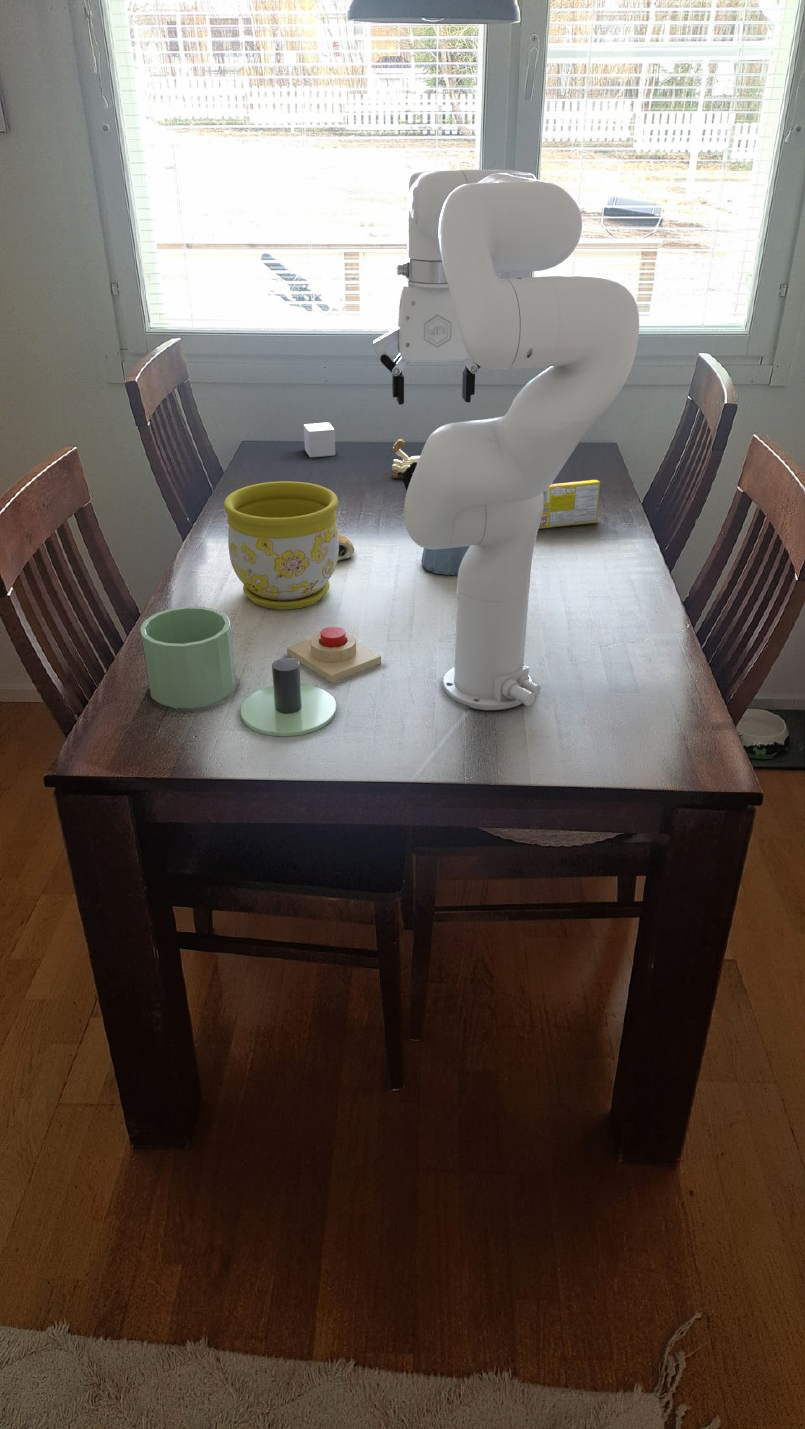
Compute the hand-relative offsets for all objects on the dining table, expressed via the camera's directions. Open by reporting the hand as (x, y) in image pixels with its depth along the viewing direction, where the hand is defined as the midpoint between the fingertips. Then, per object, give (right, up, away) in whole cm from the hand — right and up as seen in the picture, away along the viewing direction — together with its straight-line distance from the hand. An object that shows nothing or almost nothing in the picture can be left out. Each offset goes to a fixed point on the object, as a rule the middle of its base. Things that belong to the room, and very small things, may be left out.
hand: (433, 401), depth 145 cm
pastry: (-17, -16, +37) cm, 44 cm away
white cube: (-24, +16, +89) cm, 94 cm away
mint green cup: (-34, -42, -4) cm, 54 cm away
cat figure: (+6, +7, +75) cm, 75 cm away
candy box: (+25, -9, +50) cm, 57 cm away
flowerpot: (-24, -25, +23) cm, 41 cm away
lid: (-20, -45, -10) cm, 50 cm away
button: (-14, -35, +1) cm, 38 cm away
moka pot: (+3, -19, +33) cm, 38 cm away
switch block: (-15, -37, +3) cm, 40 cm away
